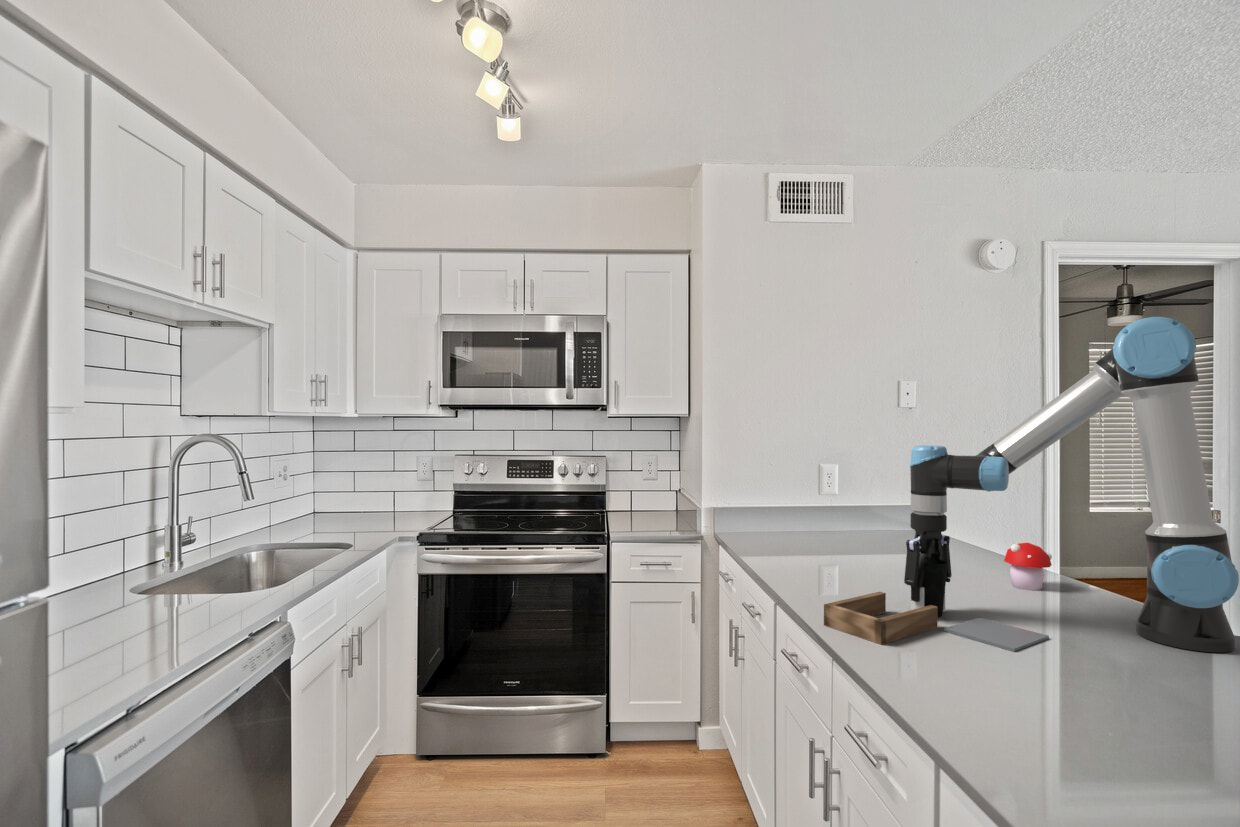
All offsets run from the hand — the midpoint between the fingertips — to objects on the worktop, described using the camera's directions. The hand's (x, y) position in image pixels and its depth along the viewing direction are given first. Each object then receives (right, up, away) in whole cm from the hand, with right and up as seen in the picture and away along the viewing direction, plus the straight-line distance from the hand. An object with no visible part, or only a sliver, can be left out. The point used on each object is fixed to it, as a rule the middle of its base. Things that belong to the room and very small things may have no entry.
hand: (928, 612), depth 148 cm
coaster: (+7, 0, -14) cm, 16 cm away
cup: (0, 0, 0) cm, 1 cm away
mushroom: (+38, -1, +24) cm, 45 cm away
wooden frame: (-15, 0, -9) cm, 18 cm away
